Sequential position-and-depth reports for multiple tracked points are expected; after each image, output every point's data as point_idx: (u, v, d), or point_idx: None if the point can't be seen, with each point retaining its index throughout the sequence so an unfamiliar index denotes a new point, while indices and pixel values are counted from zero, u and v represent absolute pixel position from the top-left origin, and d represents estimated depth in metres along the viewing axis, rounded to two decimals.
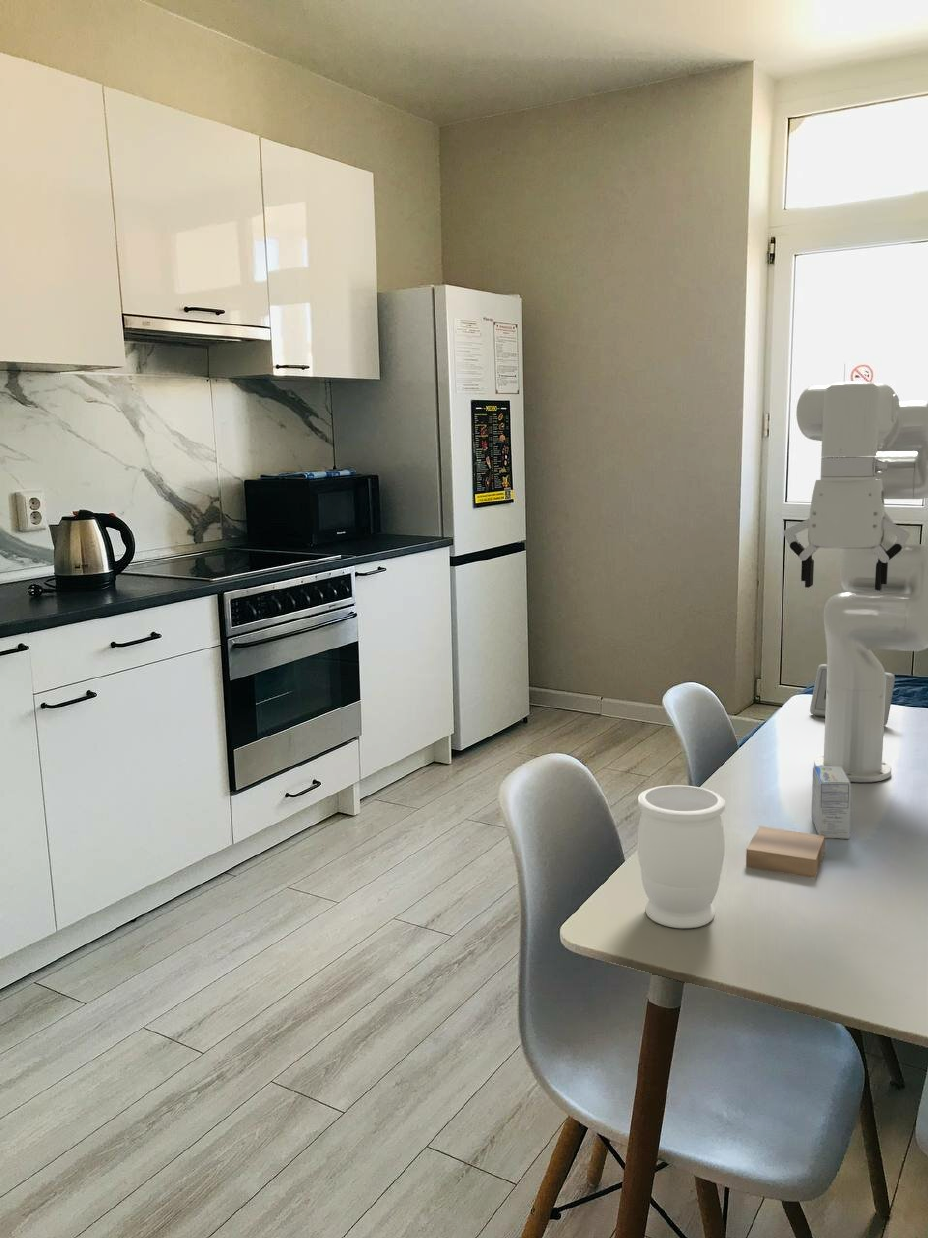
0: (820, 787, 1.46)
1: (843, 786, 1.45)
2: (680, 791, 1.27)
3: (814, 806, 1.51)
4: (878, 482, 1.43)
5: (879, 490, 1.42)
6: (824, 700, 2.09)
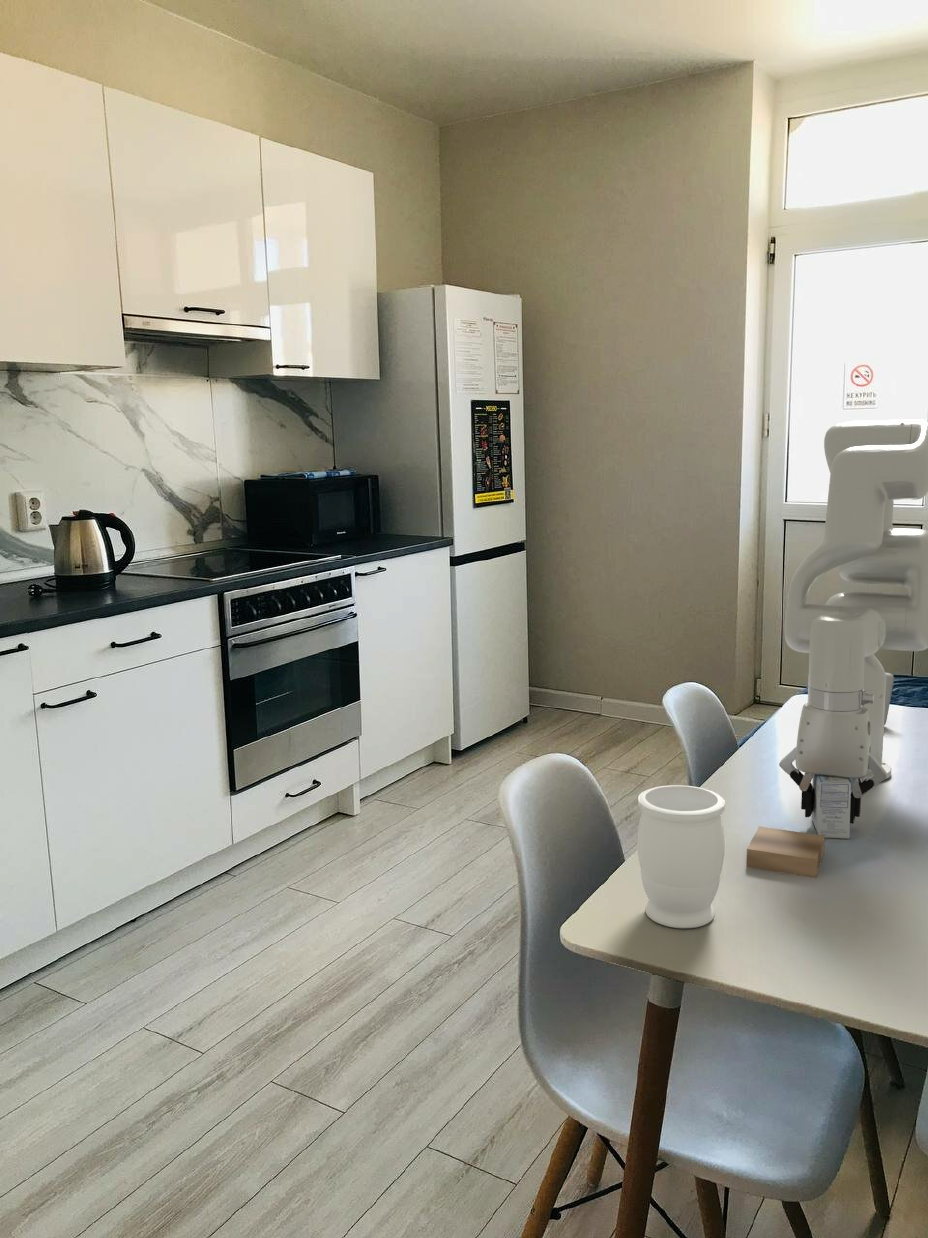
0: (820, 787, 1.46)
1: (843, 786, 1.45)
2: (680, 791, 1.27)
3: (814, 806, 1.51)
4: (864, 715, 1.44)
5: (865, 723, 1.44)
6: None
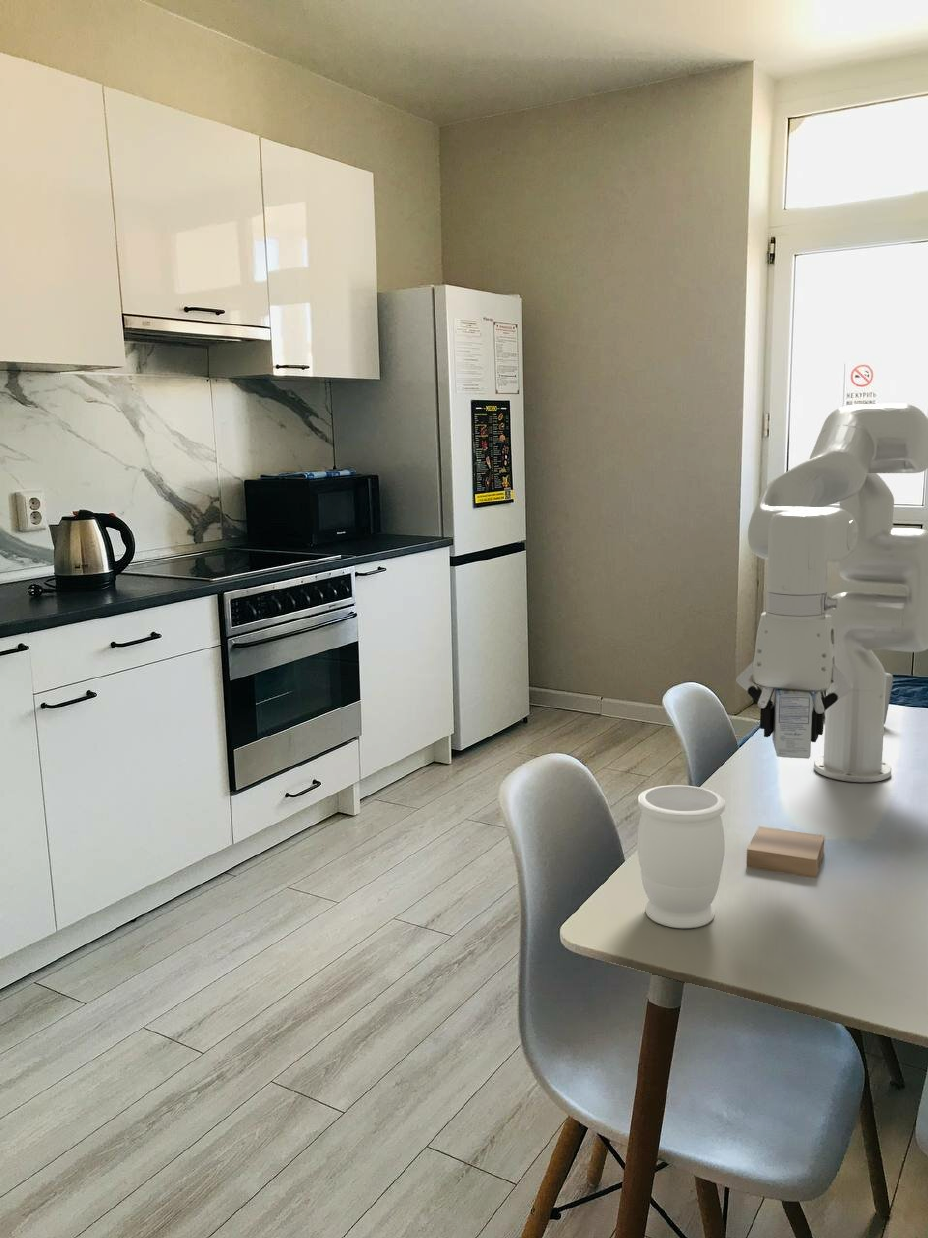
0: (778, 700, 1.33)
1: (803, 699, 1.32)
2: (680, 791, 1.27)
3: (774, 725, 1.38)
4: (827, 621, 1.31)
5: (828, 630, 1.31)
6: None
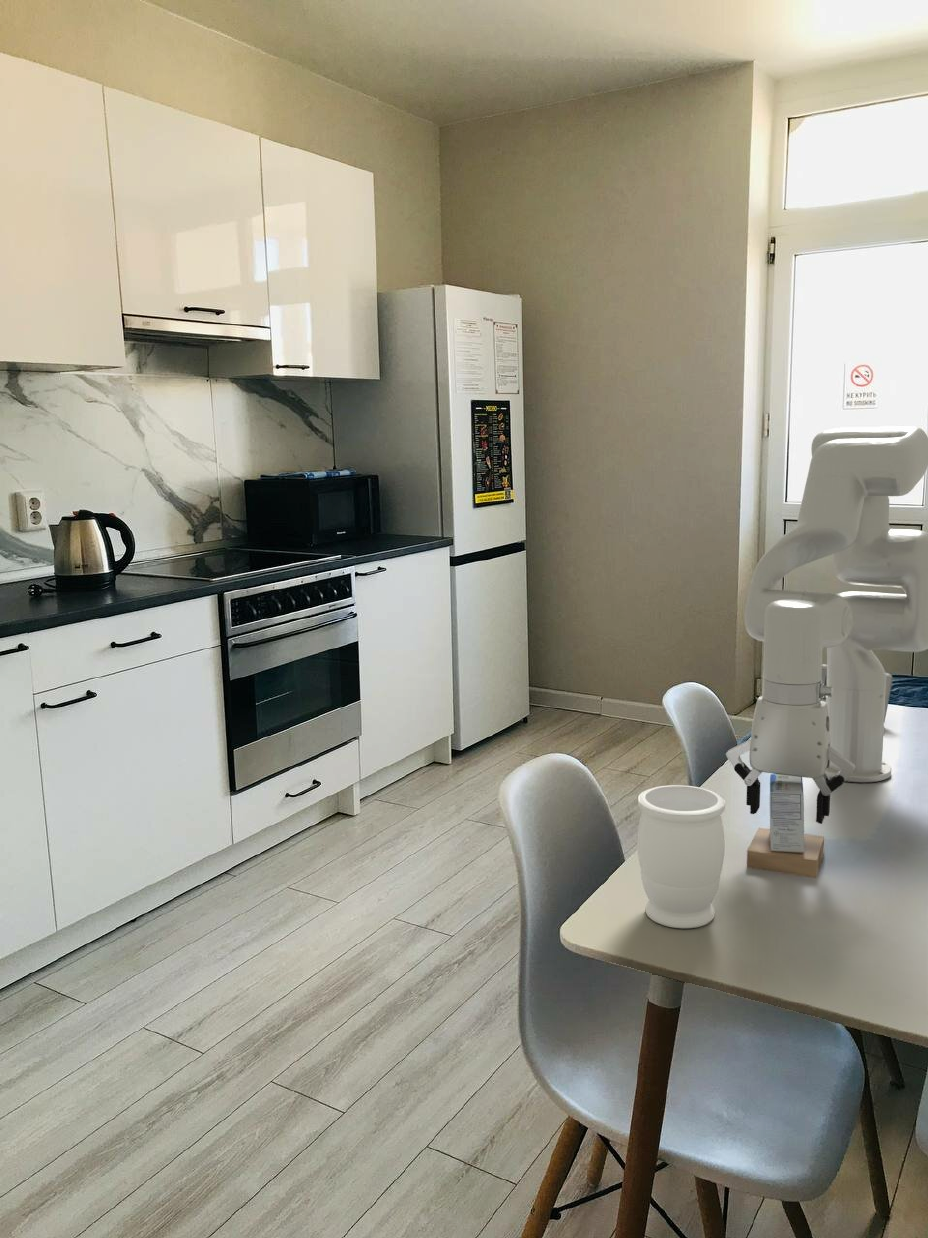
0: (770, 797, 1.35)
1: (794, 795, 1.34)
2: (680, 791, 1.27)
3: None
4: (822, 709, 1.33)
5: (823, 718, 1.33)
6: (822, 700, 2.09)
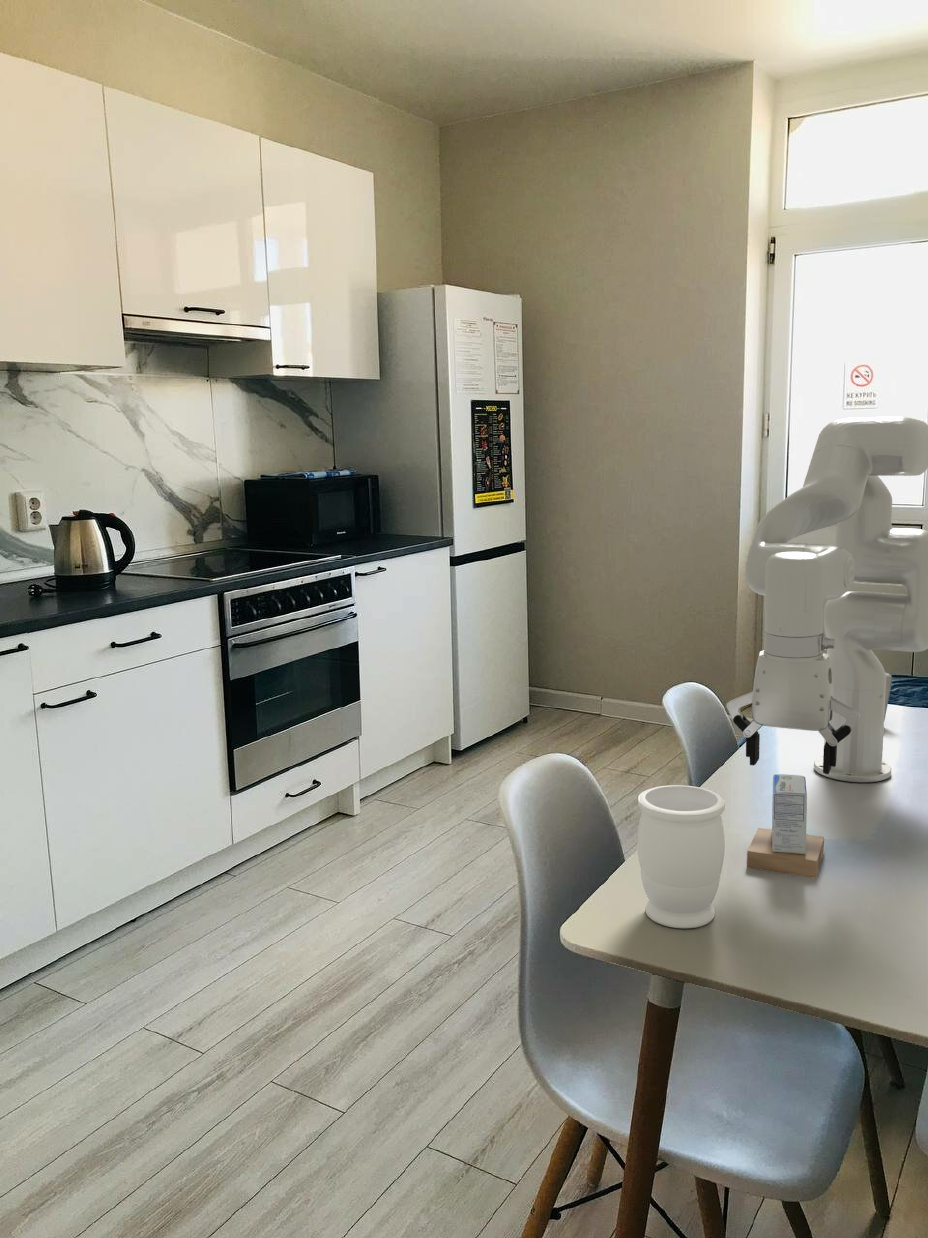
0: (773, 797, 1.35)
1: (798, 797, 1.34)
2: (680, 791, 1.27)
3: None
4: (824, 662, 1.32)
5: (826, 670, 1.32)
6: None
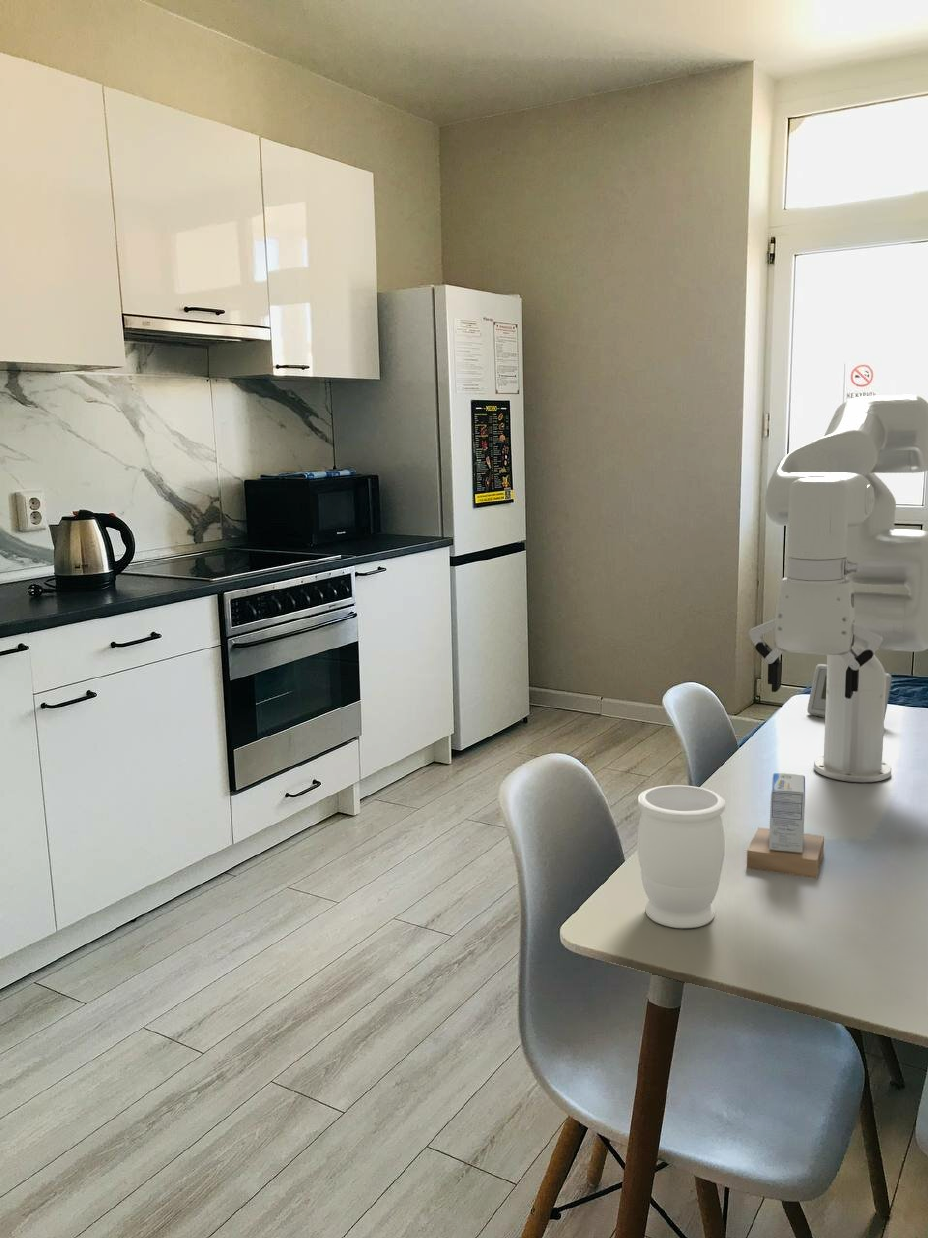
0: (772, 796, 1.35)
1: (796, 796, 1.34)
2: (680, 791, 1.27)
3: None
4: (847, 585, 1.33)
5: (848, 594, 1.33)
6: (821, 700, 2.09)
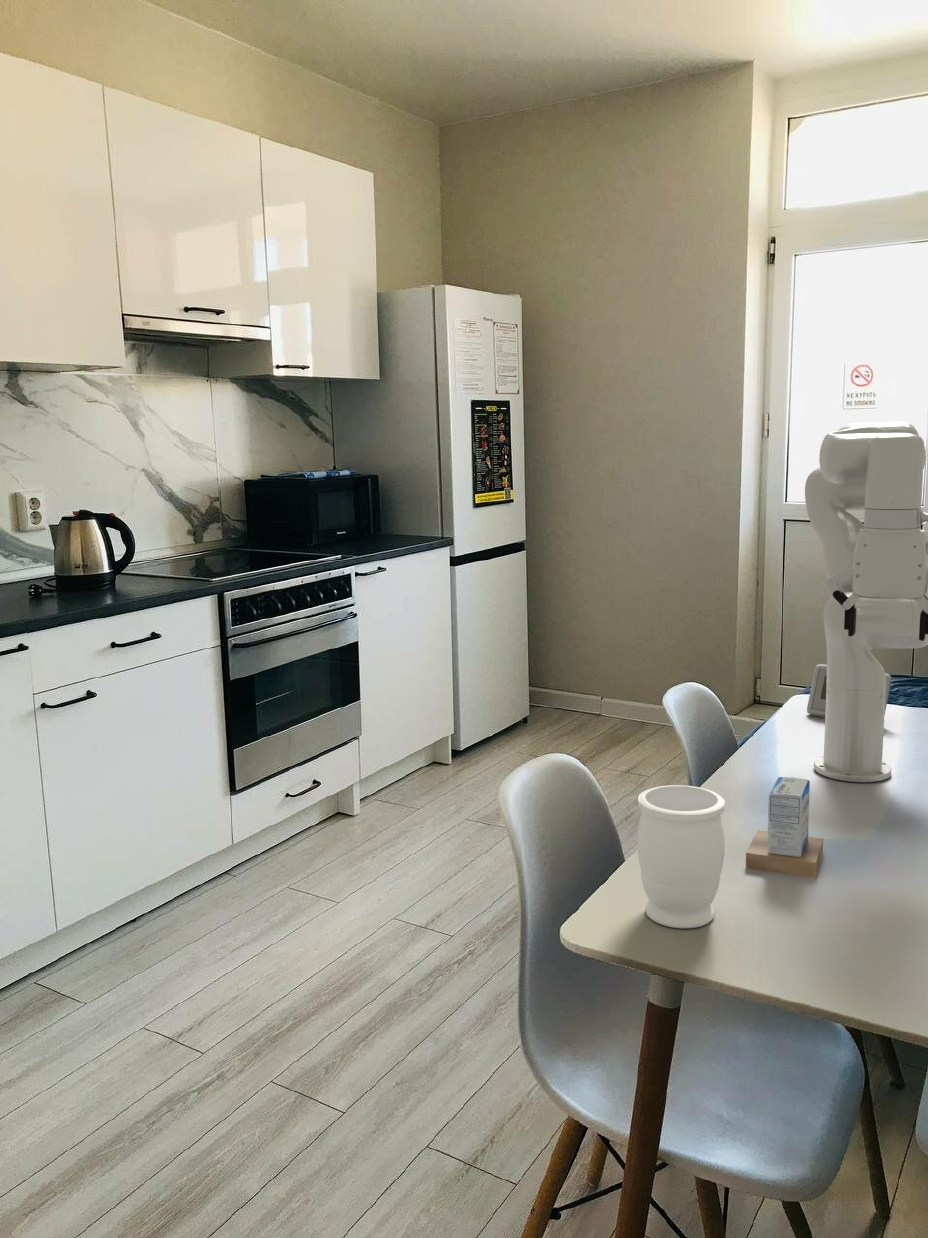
0: (769, 799, 1.35)
1: (793, 800, 1.34)
2: (680, 791, 1.27)
3: None
4: (922, 534, 1.43)
5: (924, 542, 1.43)
6: (821, 700, 2.10)
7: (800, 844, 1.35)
